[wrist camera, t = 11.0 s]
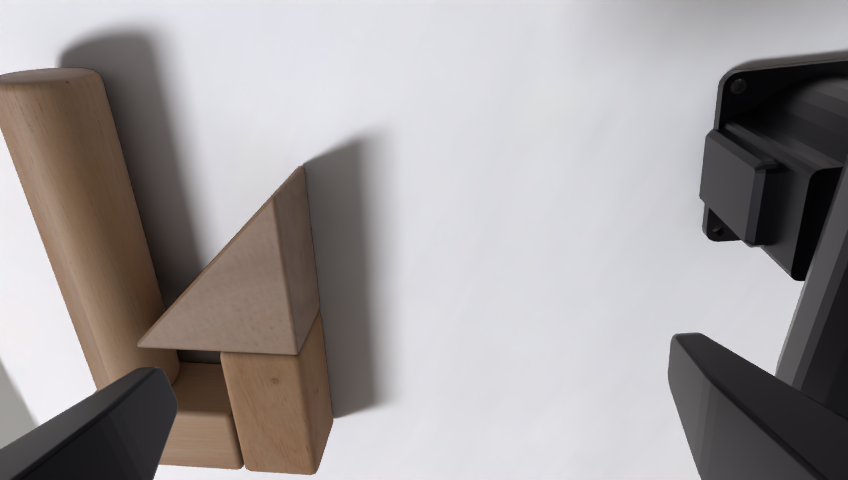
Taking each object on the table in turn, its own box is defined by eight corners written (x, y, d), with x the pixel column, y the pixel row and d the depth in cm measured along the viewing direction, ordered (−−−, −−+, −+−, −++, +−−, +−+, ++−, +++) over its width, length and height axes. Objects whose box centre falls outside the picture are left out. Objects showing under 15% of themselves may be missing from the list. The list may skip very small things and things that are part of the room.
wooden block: (317, 479, 25) (260, 84, 17) (99, 464, 26) (-54, 82, 18) (335, 420, 28) (295, 66, 20) (142, 409, 29) (29, 66, 21)
